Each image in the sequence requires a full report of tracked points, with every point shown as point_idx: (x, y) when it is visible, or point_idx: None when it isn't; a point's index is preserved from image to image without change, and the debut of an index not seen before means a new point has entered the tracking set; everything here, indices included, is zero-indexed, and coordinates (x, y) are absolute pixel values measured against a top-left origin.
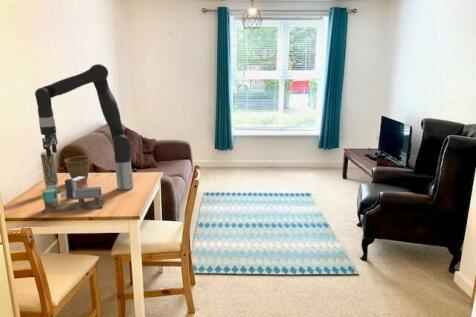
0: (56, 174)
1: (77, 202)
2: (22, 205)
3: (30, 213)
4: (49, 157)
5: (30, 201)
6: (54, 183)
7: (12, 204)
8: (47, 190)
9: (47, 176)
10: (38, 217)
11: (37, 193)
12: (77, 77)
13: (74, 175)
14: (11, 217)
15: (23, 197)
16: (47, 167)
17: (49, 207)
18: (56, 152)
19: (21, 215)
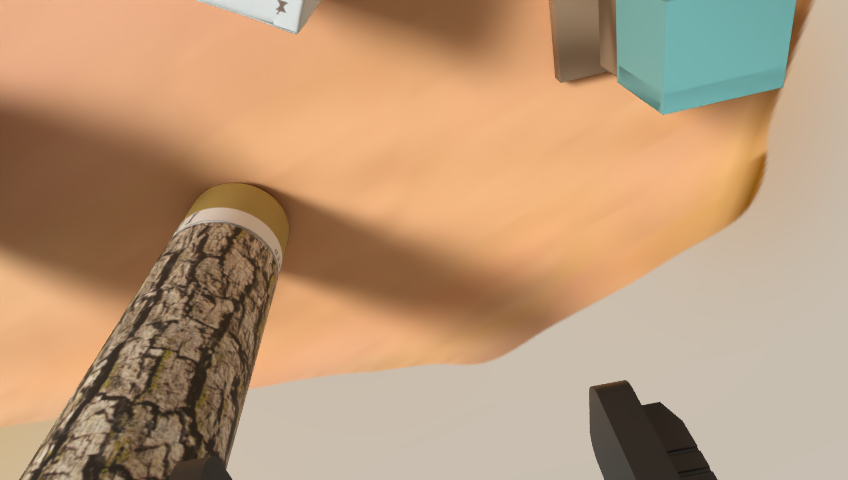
0: (169, 278)
1: None
2: (513, 277)
3: (688, 136)
4: None
5: (436, 274)
6: (242, 235)
7: (488, 341)
8: (713, 75)
9: (260, 324)
10: (799, 23)
11: (268, 322)
12: None
13: None
14: (730, 216)
15: (358, 356)
16: (232, 392)
17: None
18: (200, 458)
19: (711, 175)
